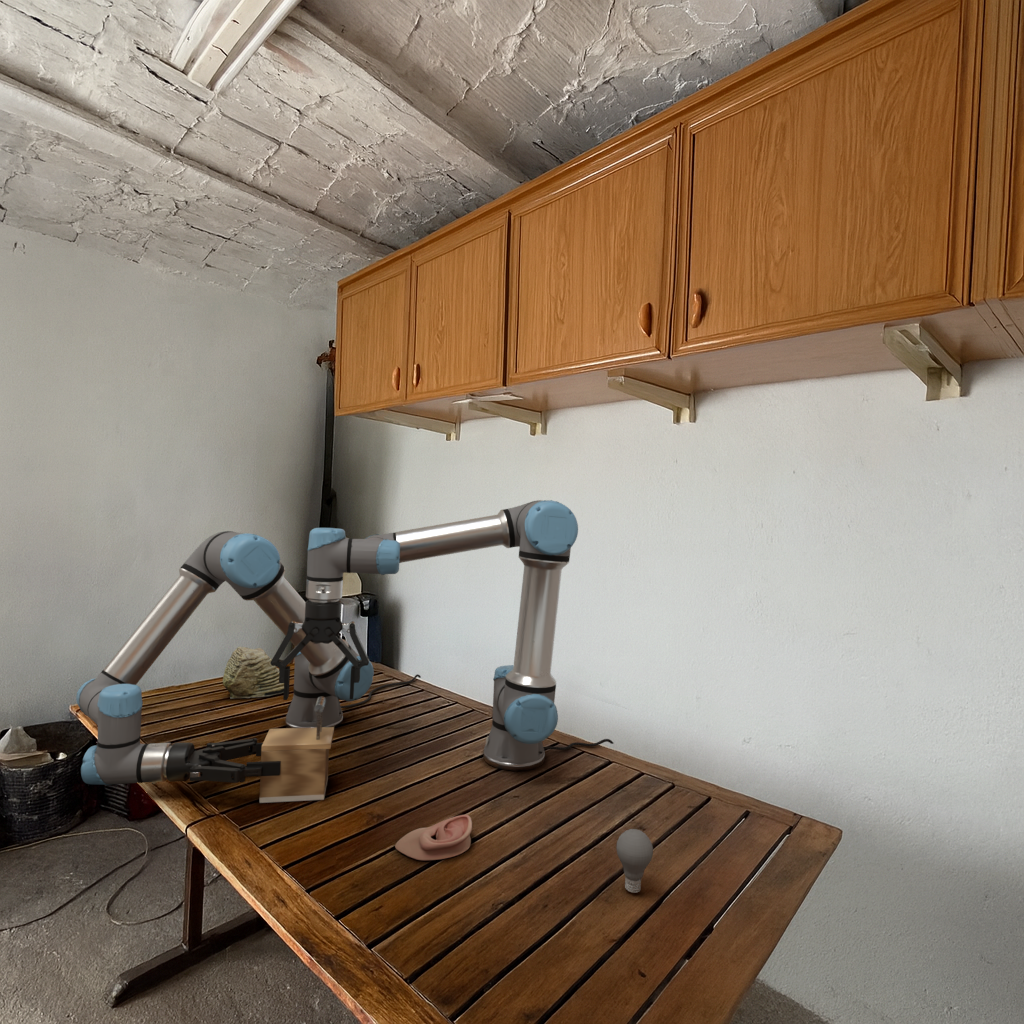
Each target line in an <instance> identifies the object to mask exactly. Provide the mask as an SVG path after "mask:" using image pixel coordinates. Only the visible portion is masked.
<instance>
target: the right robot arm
mask: <svg viewBox="0 0 1024 1024" xmlns="http://www.w3.org/2000/svg"><path fill="white" fill-rule="evenodd" d="M578 534H579V524H578V520H577V518H576V515H575V514H574V513H573V510H571V508H569V507H568V506H567V505H565V504H563V503H562V502H559V501H558V500H552V499H549V500H547V499H546V500H543V499H542V500H541V499H540V500H539V499H538V500H532V501H529V502H525V503H524V504H521V505H517V506H514V507H508V508H504V509H500V510H499V512H498V513H497V514H493V515H488V516H481V517H476V518H469V519H463V520H458V521H452V522H447V523H440V524H435V525H429V526H423V527H417V528H411V529H406V530H400V531H395V532H387V533H382V534H379V533H375V534H371V535H369V536H367V537H365V538H350V537H347V535H346V531H345V529H343V528H335V527H314V528H313V529H311V530H310V531H309V536H308V547H307V559H306V561H307V563H306V564H307V565H306V585H305V598H306V601H305V620H304V623H298V622H296V621H294V620H293V621H291V622H290V624H289V627H288V633H287V635H286V636H285V635H284V636H285V637H283V640H282V641H281V643H280V645H279V647H277V648H278V649H277V650H276V652H275V654H274V656H273V657H272V658H271V659H272V661H271V663H270V664H271V665H272V666H276V668H278V669H279V683H284V692H283V701H287V700H288V699H289V697H290V680H291V679H290V678H291V666H290V665H289V664H290V663H291V662H292V660H294V659H295V656H296V655H297V654H298V653H299V652H300V651H301V650H302V649H303V648H304V647H305V646H306V645H307V644H308V643H309V642H310V641H311V642H313V643H314V644H318V643H325V644H329V643H331V642H332V641H333V642H334V644H335V645H336V646H338V648H339V649H340V650H341V651H342V652H343V654H344V655H345V656H346V657H347V659H348V660H349V661H350V662H351V663H352V665H353V666H351V680H350V699H353V696H354V683H359V681H360V668H361V667H363V666H367V665H368V664H369V661H370V658H369V656H368V654H367V652H366V650H365V647H364V645H363V643H362V641H361V639H360V637H359V635H358V633H357V625H356V622H355V621H354V620H352V621H350V622H345V623H344V622H342V607H343V606H342V605H343V602H342V601H341V599H342V598H343V587H344V573H346V574H368V575H369V574H373V575H381V576H385V575H396V574H398V573H399V571H400V564H401V563H407V562H413V561H419V560H420V561H421V560H426V559H431V558H436V557H442V556H449V555H454V554H459V553H465V552H471V551H477V550H482V549H488V548H493V547H500V546H503V547H505V548H506V549H512V548H519V549H518V558H519V560H520V561H521V562H522V564H523V574H522V584H521V591H520V592H521V594H520V602H519V610H518V611H519V612H518V621H517V629H516V630H517V631H516V639H515V647H514V660H513V664H507V665H500V666H497V667H496V668H495V669H494V676H493V694H492V695H493V700H492V716H491V717H492V719H491V728H490V731H489V733H488V735H487V736H486V738H485V745H484V748H483V756H482V757H483V760H484V762H486V764H488V765H490V766H491V767H494V768H496V769H500V770H505V771H511V772H512V771H513V772H519V771H520V772H521V771H530V770H533V769H536V768H538V767H540V766H542V765H544V763H545V760H546V759H545V758H546V757H545V756H546V752H545V750H556V751H566V750H569V749H571V748H572V747H574V746H580V747H588V748H591V747H592V748H593V747H597V746H599V745H601V744H603V743H607V742H608V743H609V744H611V745H613V744H614V742H613V741H612V740H611V739H610V738H604V739H601V740H599V741H597V742H594V743H593V742H592V743H587V742H585V743H584V742H577V741H576V742H571V743H570V744H568V745H566V746H544V744H543V742H544V741H546V739H548V738H549V737H551V735H552V734H554V732H555V730H556V728H557V726H558V723H559V713H558V709H557V706H556V704H555V700H556V699H555V698H556V690H557V679H555V677H554V675H552V664H553V654H554V645H555V638H556V627H557V619H558V608H559V598H560V589H561V579H562V570H563V569H564V568H565V567H566V566H567V565H569V564H570V557H571V551H572V547H573V546H574V544H575V543H576V540H577V539H578ZM300 628H302V630H303V631H304V633H305V634H306V636H305V637H304V638H303V639H302V640H301V641H300V643H299V644H298V645H297V646H296V647H295V646H294V648H293V649H292V650H291V651H290V652H289V653H288V654H287V655H286V656H285V657H284V658H283V659H280V658H281V657H282V655H283V653H284V651H285V650H286V649H287V646H288V645H289V643H290V642H291V641H290V639H291V638H292V636H293V634H294V633H296V632H298V630H299V629H300ZM343 629H344V630H345V632H346V633H347V634H349V636H350V638H351V641H352V643H353V645H354V647H355V649H356V651H357V654H358V655H359V656H360V658H361V660H359V659H358V658H357V657H356V656H355V655H354V653H353V652H352V651H351V650H350V649H349V647H348V646H347V645H346V644H345V643H344V641H343V640H342V639H343V638H342V637H341V636H340V633H342V631H343Z"/></svg>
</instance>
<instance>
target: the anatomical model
mask: <svg viewBox="0 0 1024 1024" xmlns="http://www.w3.org/2000/svg"><path fill="white" fill-rule="evenodd" d="M472 830H473V821H472V818H471V816H470V815H469V814H459V815H456V816H452V817H450V818H447V819H444V820H442V821H440V822H437V823H436V824H435V823H434V824H433V825H431V826H429V827H420V828H417V829H413V830H412V831H409V832H408V833H406V834H405V835H403V836H402V837H401V838H400V839H399V840H397V842H396V843H395V845H394V848H395V849H396V851H398V852H400V853H401V854H403V855H405V856H406V857H408V858H412V859H414V860H417V861H436V860H437V861H438V860H444V859H450V858H453V857H456V856H459V855H462V854H463V853H464V852H467V851H468V850H469V848H470V847H471V844H472V839H471V833H472Z"/></svg>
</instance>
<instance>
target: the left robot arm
mask: <svg viewBox="0 0 1024 1024" xmlns="http://www.w3.org/2000/svg"><path fill="white" fill-rule="evenodd" d="M178 573H179V575H178V577H177V578H176V579H175V581H174V582H173V583H172V584H171V586H170V587H169V589H167V590H166V592H165V593H164V595H162V597H161V598H160V599H159V600H158V602H157V603H156V604H155V605H154V606H153V607H152V608H151V610H150V611H149V613H148V614H147V615H146V617H145V618H144V619H143V620H142V621H141V622H140V624H139V625H138V626H137V627H136V629H135V630H134V631H133V632H132V633H131V634H130V635H129V638H127V640H126V641H125V642H124V644H123V645H122V646H121V647H120V648H119V649H118V651H117V652H116V653H115V655H113V657H112V658H111V659H110V661H108V663H107V664H106V666H105V667H104V668H103V669H102V670H101V672H100V673H99V674H98V675H97V676H96V677H95V678H91V679H89V680H87V681H86V682H84V683H82V684H81V685H80V687H79V688H78V690H77V692H76V695H75V701H76V704H77V706H78V708H79V709H80V712H82V713H83V714H84V715H85V716H86V717H88V718H89V719H90V720H91V721H93V722H94V723H95V725H97V741H96V743H97V744H96V745H92V746H90V747H89V748H88V749H87V750H86V752H85V753H84V755H83V758H82V764H81V767H80V775H81V779H82V781H83V782H84V783H85V784H87V785H95V786H96V785H101V786H102V785H103V786H104V785H105V786H112V785H125V784H145V783H147V784H149V783H151V784H152V785H155V784H157V783H165V782H166V781H168V782H169V783H172V782H173V783H174V782H187V781H188V780H189V781H190V782H198V781H203V782H204V781H205V782H216V783H217V782H218V783H219V782H220V783H232V784H236V783H237V784H238V783H244V782H246V778H251V777H252V778H253V777H254V778H255V777H260V776H279V775H280V767H281V761H267V762H261V761H247V762H246V764H243V763H238V762H234V761H232V760H235V759H240V758H244V757H248V756H249V757H250V756H254V755H255V757H261V749H262V744H263V742H258V738H256V737H254V738H248V739H247V738H246V739H239V740H230V741H224V742H223V741H222V742H208V743H206V747H205V748H202V749H196V748H195V744H194V743H193V742H174V744H172V743H171V742H157V743H155V742H153V743H141V735H142V734H141V731H142V711H143V710H142V709H143V703H144V701H143V692H142V688H141V687H140V686H139V685H137V684H138V683H139V682H140V681H141V679H142V678H143V677H144V676H145V674H146V673H147V672H148V670H149V669H150V668H151V666H152V665H153V664H154V663H155V661H156V660H157V659H158V658H159V657H160V655H161V654H162V653H163V652H164V650H165V649H166V648H167V646H168V645H169V644H170V642H171V641H172V640H173V639H174V637H175V636H176V635H177V634H178V632H179V631H180V630H181V629H182V628H183V626H184V625H185V623H187V621H188V620H189V618H190V617H191V616H192V615H193V613H194V612H195V611H196V610H197V608H198V607H199V606H200V604H201V603H202V602H203V601H204V599H205V598H206V597H207V595H209V594H212V593H216V592H217V590H218V589H219V587H220V586H221V585H223V583H224V582H226V583H227V584H228V585H229V586H230V587H231V588H232V589H233V590H234V591H235V592H236V593H237V594H238V596H239V597H241V599H242V600H244V601H247V602H248V601H253V602H254V603H255V604H256V605H257V606H258V607H259V608H260V610H262V611H263V613H264V614H265V615H266V616H267V617H268V618H269V619H270V620H271V622H273V624H274V625H275V626H276V627H277V628H278V630H280V631H281V633H282V634H283V635H284V636H286V635H287V633H288V627H289V624H290V622H291V621H293V620H294V621H296V622H298V623H304V620H305V602H306V601H305V600H304V599H303V597H302V596H301V595H300V594H299V593H298V592H297V591H296V589H295V588H294V587H293V586H292V585H291V584H290V582H289V581H288V580H287V579H286V578H285V573H286V567H285V566H284V565H283V564H282V562H281V556H280V553H279V550H278V548H277V547H276V546H275V545H274V543H273V542H271V540H268V539H267V538H265V537H263V536H261V535H258V534H256V533H244V532H237V531H232V530H224V531H219V532H216V533H213V534H212V535H210V536H208V537H207V538H205V539H204V540H203V541H202V542H201V543H200V544H199V545H198V546H197V548H195V549H194V550H193V552H192V553H191V554H190V555H189V557H188V558H187V559H186V560H185V562H183V564H181V566H180V567H179V568H178ZM305 636H306V634H305V633H304V631H303V630H302V628H300V629H299V630H298V632H296V633H294V634H293V636H292V638H291V639H290V641H289V642H291V643H292V645H293V646H294V648H295V647H296V646H297V645H298V644H299V643H300V641H301V640H302V639H303V638H304V637H305ZM342 640H343V641H344V643H345V644H346V645H347V646H348V647H349V649H350V650H351V651H352V652H353V653H354V655H355V656H356V657H357V658H358V659H359V660H361V658H360V656H359V654H358V652H356V651H355V650H354V648H353V647H352V646H351V645H350V644H349V642H348V641H347V640H345V639H343V638H342ZM351 666H353V665H352V663H351V662H350V661H349V660H348V659H347V657H346V656H345V655H344V654H343V652H342V651H341V650H340V649H339V648H338V646H336V645H335V644H334V642H333V641H332V642H331V643H329V644H325V643H318V644H314V643H313V642H311V641H310V642H309V643H308V644H307V645H306V646H305V647H304V648H303V649H302V650H301V651H300V652H299V653H298V654H297V655H296V656H295V657H294V672H293V673H294V674H293V695H292V696H293V697H292V699H291V702H290V703H289V704H288V706H287V708H286V709H287V710H288V711H287V713H286V715H285V726H286V728H317V713H316V712H315V711H314V708H315V704H316V701H317V699H318V698H319V697H321V696H323V697H325V699H326V703H325V707H324V711H323V712H322V727H334V729H335V728H337V727H339V726H340V725H342V723H343V722H344V714H343V709H349V708H353V707H357V706H360V705H363V704H365V703H367V702H370V700H371V698H372V694H373V693H374V692H376V691H378V690H381V689H383V688H386V687H391V686H399V685H400V686H401V685H407V684H410V683H413V682H414V681H415V680H416V679H417V678H419V679H420V678H422V676H421V675H420V674H415V675H414V677H413V678H411V679H410V680H407V681H401V682H392V683H385V684H383V685H380V686H377V687H375V688H374V689H373V688H372V689H371V691H370V692H369V693H368V698H366V699H364V700H362V701H359V702H356V703H352V704H347V705H341V702H340V701H345V702H353V701H354V702H355V701H357V700H359V699H361V698H362V697H363V696H364V695H366V693H367V692H368V691H369V690H370V688H371V686H372V684H373V681H374V679H373V678H374V676H375V670H374V666H373V664H372V662H371V661H370V660H369V664H368V665H367V666H363V667H361V668H360V681H359V683H354V696H353V699H350V680H351ZM230 760H231V761H230Z"/></svg>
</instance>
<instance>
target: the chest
mask: <svg viewBox="0 0 1024 1024" xmlns="http://www.w3.org/2000/svg"><path fill="white" fill-rule="evenodd" d="M329 755H330V749H310V750H281V751H261V756H260V762H267V761H281V767H280V775H279V776H259V777H260V778H259V779H260V780H259V798H258V799H259V801H258V802H259V804H266V803H267V804H268V803H284V802H285V803H286V802H303V801H305V802H306V801H324V800H325V798H326V797H325V796H326V792H327V786H328V780H329V759H330V758H329V757H330V756H329Z"/></svg>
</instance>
